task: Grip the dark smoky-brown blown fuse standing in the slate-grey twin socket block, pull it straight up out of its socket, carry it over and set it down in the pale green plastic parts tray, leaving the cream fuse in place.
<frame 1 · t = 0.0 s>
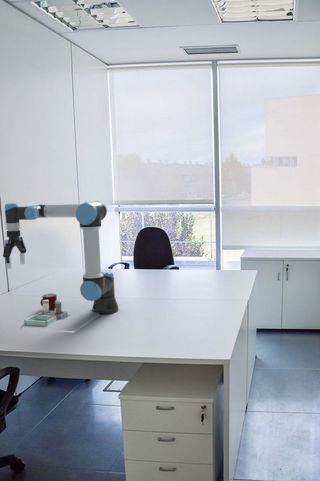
hand: (16, 266, 277), 28 cm above the table, fingers open, 13 cm apart
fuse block: (52, 317, 268), on the table
mug: (48, 311, 281), on the table
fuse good: (46, 315, 269), point 1 cm above the table, touching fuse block
fuse blown: (59, 316, 267), point 1 cm above the table, touching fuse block
tray: (41, 323, 258), on the table
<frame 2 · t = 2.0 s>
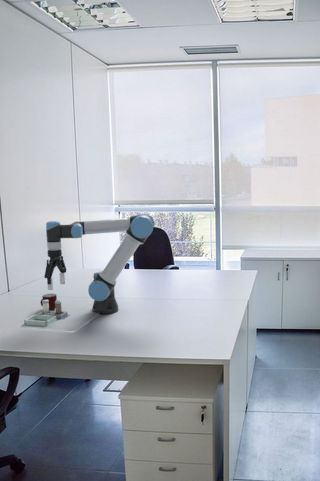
hand: (56, 286, 265), 18 cm above the table, fingers open, 13 cm apart
nothing on the table moved.
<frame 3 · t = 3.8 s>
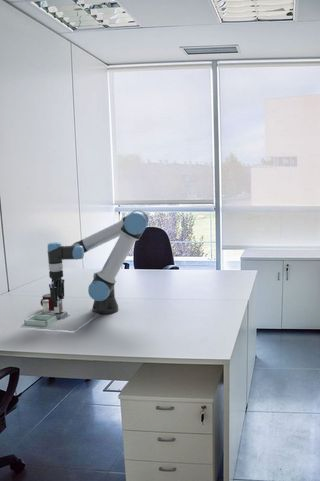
hand: (58, 311, 267), 4 cm above the table, fingers closed on fuse blown, 3 cm apart
fuse blown: (59, 316, 267), point 1 cm above the table, touching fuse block, gripper
everything else where it was.
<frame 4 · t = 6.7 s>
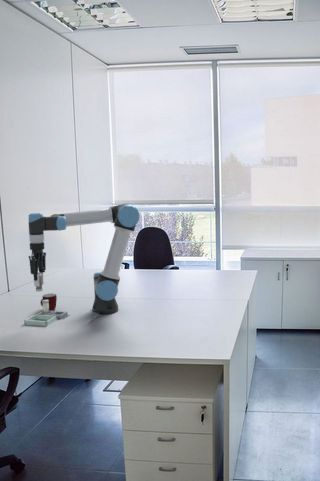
hand: (38, 285, 256), 21 cm above the table, fingers closed on fuse blown, 3 cm apart
fuse blown: (39, 290, 257), point 18 cm above the table, touching gripper
everything else where it was.
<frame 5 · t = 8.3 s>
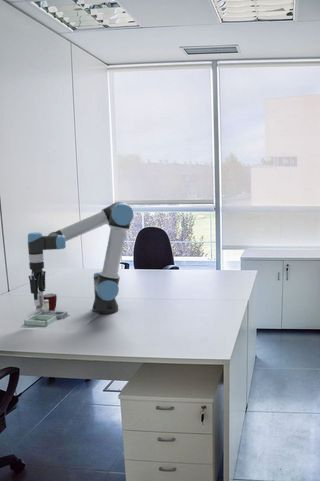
hand: (39, 304, 257), 11 cm above the table, fingers closed on fuse blown, 3 cm apart
fuse blown: (39, 309, 257), point 8 cm above the table, touching gripper
everything else where it was.
when the fingers open (5 cm above the table, at t = 9.5 s): fuse blown stays where it is, resting on tray.
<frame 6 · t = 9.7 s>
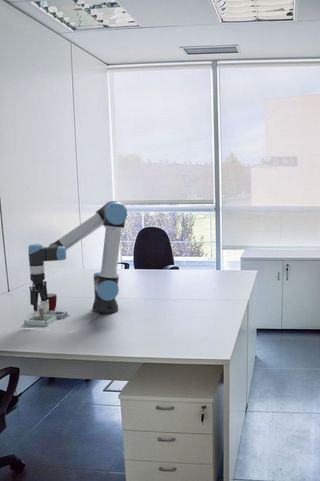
hand: (40, 314, 257), 5 cm above the table, fingers open, 6 cm apart
fuse blown: (40, 322, 258), point 1 cm above the table, touching tray
everything else where it was.
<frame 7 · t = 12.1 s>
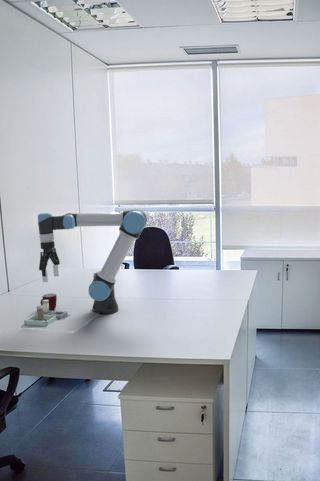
hand: (51, 279, 264), 23 cm above the table, fingers open, 13 cm apart
nothing on the table moved.
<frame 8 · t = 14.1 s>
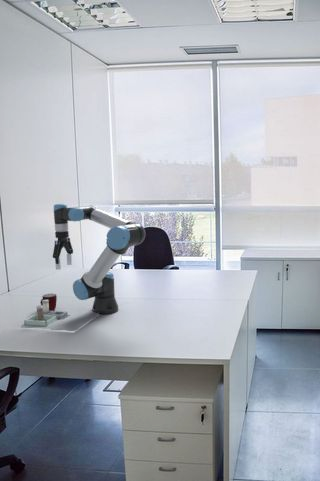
hand: (64, 267, 276), 27 cm above the table, fingers open, 13 cm apart
nothing on the table moved.
at the end: fuse blown inside the target area on the tray (0.0 cm from its centre), point 0.8 cm above the tray's base; the gripper is holding nothing; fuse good moved 0.0 cm from its start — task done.
